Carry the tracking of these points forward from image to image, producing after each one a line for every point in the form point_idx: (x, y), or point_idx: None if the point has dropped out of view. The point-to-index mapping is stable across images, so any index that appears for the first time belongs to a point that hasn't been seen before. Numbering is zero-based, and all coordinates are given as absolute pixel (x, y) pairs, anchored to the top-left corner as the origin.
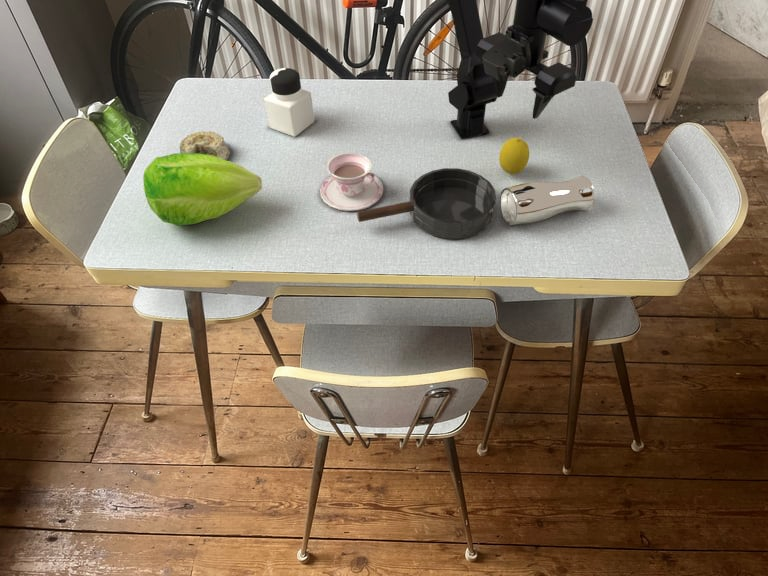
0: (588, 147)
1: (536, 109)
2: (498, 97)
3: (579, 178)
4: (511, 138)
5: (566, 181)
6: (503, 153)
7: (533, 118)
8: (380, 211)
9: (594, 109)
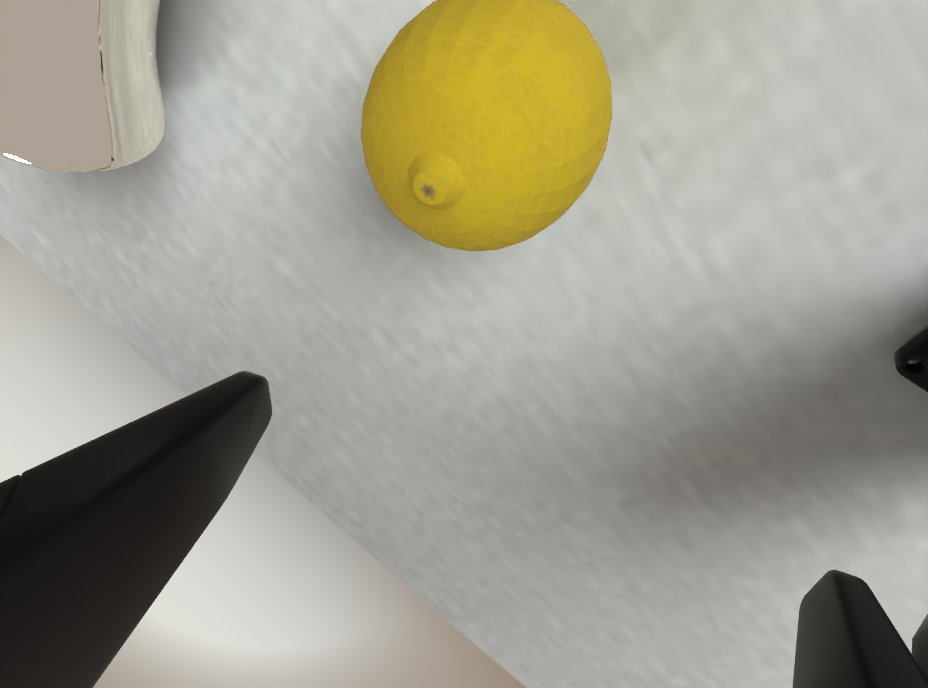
0: (403, 452)
1: (109, 441)
2: (832, 570)
3: (10, 122)
4: (513, 194)
5: (22, 47)
6: (512, 22)
7: (252, 373)
8: None
9: (531, 629)
